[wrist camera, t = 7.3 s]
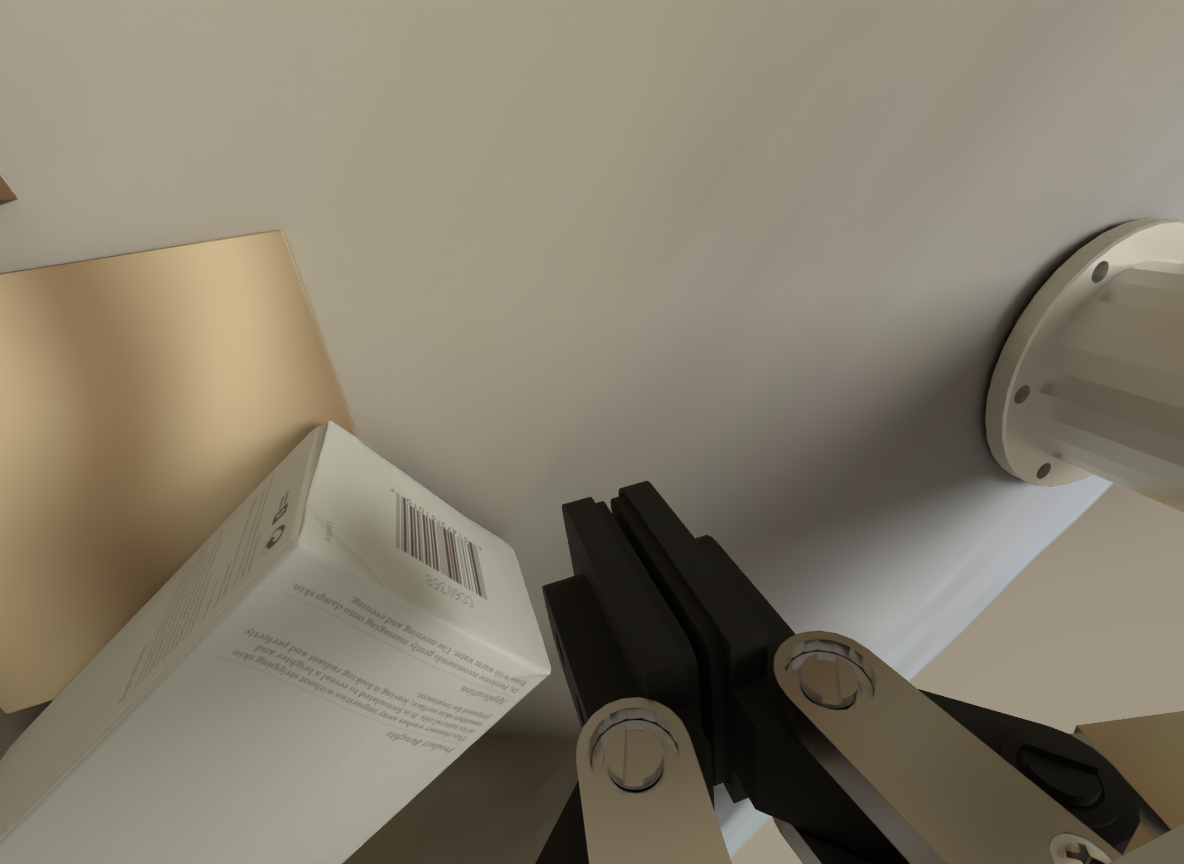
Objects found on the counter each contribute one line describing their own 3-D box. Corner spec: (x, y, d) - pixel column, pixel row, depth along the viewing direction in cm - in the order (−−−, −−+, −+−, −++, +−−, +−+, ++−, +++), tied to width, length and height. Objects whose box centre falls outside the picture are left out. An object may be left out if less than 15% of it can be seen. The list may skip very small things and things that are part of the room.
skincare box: (330, 410, 16) (-5, 729, 17) (298, 544, 11) (-171, 979, 12) (525, 551, 20) (248, 793, 22) (569, 692, 15) (203, 996, 17)
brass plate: (282, 229, 14) (279, 230, 14) (410, 582, 20) (410, 590, 19) (-327, 325, 12) (-349, 329, 11) (14, 703, 17) (6, 713, 17)
